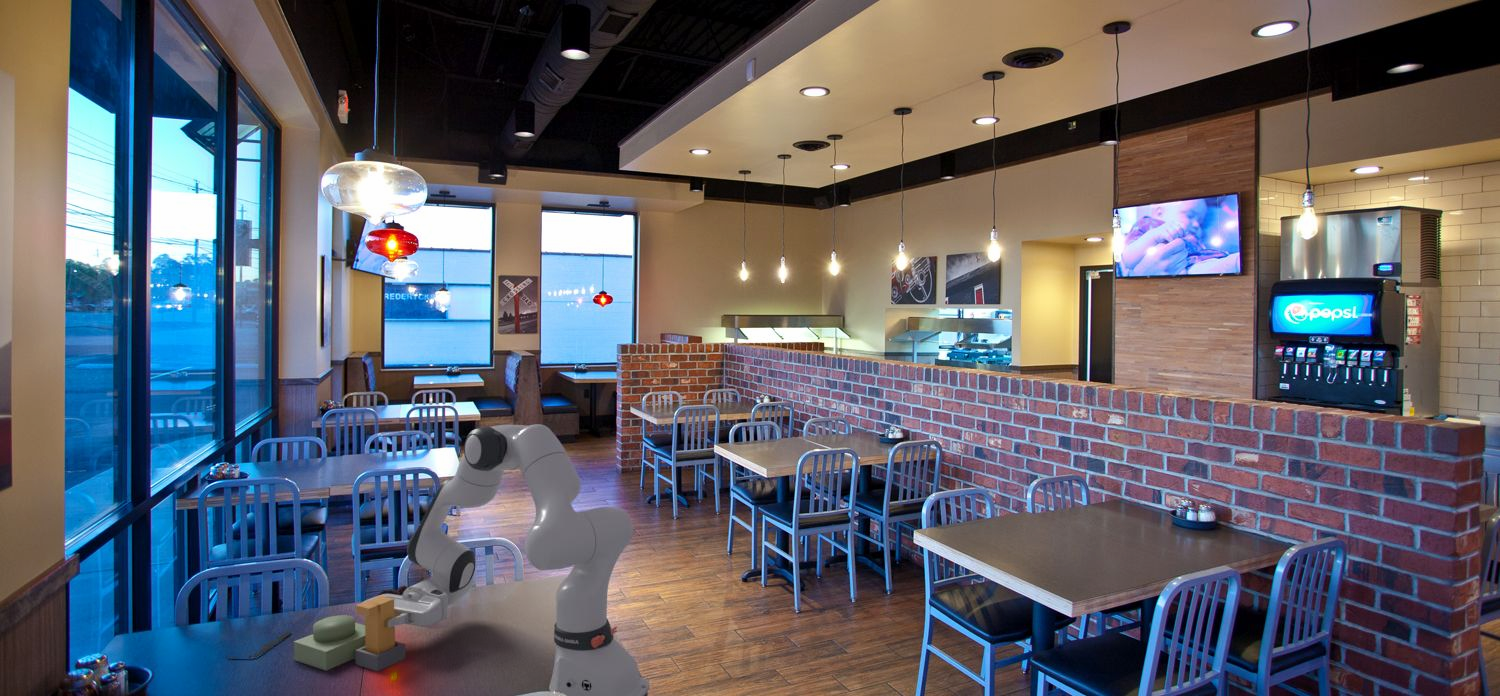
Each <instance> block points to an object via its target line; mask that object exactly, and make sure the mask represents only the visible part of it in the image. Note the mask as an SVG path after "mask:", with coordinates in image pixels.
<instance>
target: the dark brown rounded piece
mask: <svg viewBox="0 0 1500 696" xmlns="http://www.w3.org/2000/svg"><path fill="white" fill-rule="evenodd" d="M407 588H408V587H407V585H401V586H399V587H398V588H397V589H396V590H395V589H392V588H390V589H386V590H385V589H384V590H382V591H381V592H379V593H377V594H376V595H375V597H376V596H379V595H382V594H394V595H400V596H402V595H403V593H404V591H405V590H406V589H407Z"/></svg>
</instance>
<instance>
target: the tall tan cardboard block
mask: <svg viewBox="0 0 1500 696" xmlns="http://www.w3.org/2000/svg"><path fill="white" fill-rule="evenodd" d="M375 597H376V596H375ZM367 600H368V599H367ZM355 613H356V615H360V616H363V617H364V616H365V623H364V625H365V646H366V651H368V652H371V653H374V654H377V655H378V654H380V653H383V652H385V651H387V650H389V649H392V648H394V647H395V641H396V636H395V635H396V629H395V627H396V625H395V626H393V627H391V628H389V627H385V620H386V619H388V618H390V617H392V618H394V599H392V598H389V597H385V596H379V597H376V598H374V599H371V600H368V601H366V602H364V601H362V602H361V603H358V604H356V605H355Z"/></svg>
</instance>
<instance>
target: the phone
mask: <svg viewBox="0 0 1500 696" xmlns="http://www.w3.org/2000/svg"><path fill="white" fill-rule="evenodd" d="M285 632H286V633H287V634H286V633H285V634H283V635H281V636H280V637H278V638H279V639H277V640H278V641H277V640H276V641H277V642H275V641H272V642H269V643H268V644H266V645H264V646H263V647H265V646H266V647H265V648H263V647H262V648H263V649H261V648H260V649H261V650H260V651H261V652H260V653H257V652H255V653H257V654H258V655H257V654H254V657H257V656H259V655H260V654H262V653H264V652H265V651H267V650H268V649H270V648H271V647H272V646H274V645H275V644H276V643H278V642H280V641H281V640H283V639H284V638H286V637H287V636H289V635H290V634H291V635H292V631H285ZM291 635H290V636H291ZM290 636H289V637H290ZM287 638H288V637H287ZM287 638H286V639H287ZM283 641H284V640H283ZM273 642H275V643H273ZM271 643H272V644H271ZM280 643H281V642H280ZM258 652H259V651H258ZM250 654H251V653H250ZM245 656H247V655H245ZM228 657H229V655H227V658H228ZM230 657H233V656H230ZM235 657H236V656H235ZM239 657H240V656H239ZM251 657H253V656H250V655H249V658H251Z"/></svg>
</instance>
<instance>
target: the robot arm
mask: <svg viewBox="0 0 1500 696" xmlns="http://www.w3.org/2000/svg"><path fill="white" fill-rule="evenodd" d="M458 463H459V464H458V467H457V470H456V473H455V475H454V476H453V477H451V478H448V479H445V480H444V481H443V482H442V483H441V485H440V486H439V487H438V489H437V490H436V492H435V494H434V495H433V497H432V500H431V501H430V503H429V505H428V506H427V510H426V512H425V513H424V515H423V516H422V520H420V522H419V525H418V527H417V529H416V530H415V531H414V533H413V534H412V535H411V537H410V538H409V540H408V542H407V546H406V547H407V548H406V551H407V559H408V560H409V561H410V562H412V563H413V564H416V565H418V566H420V567H422V568H423V569H426V570H427V571H428V572H430V573H431V574H432V576H431V577H430V578H429V579H424V580H422V581H419V582H418V583H415V584H413V585H411V586H408V587H407V589H406V590H405V591H404V593H403V594H402V596H400V595H394V594H382V595H379V596H385V597H389V598H392V599H394V618H392V617H390V618H388V619H386V620H385V627H389V628H391V627H393V626H395V627H396V626H400V625H410V626H416V627H421V628H424V627H430V626H432V625H434V624H436V623H438V622H440V621H444V620H446V619H448V612H449V611H448V608H449V607H450V606H451V605H453V604H455V603H456V602H458V601H460V600H461V599H462V598H464V597H465V596H466V595H467V594H468V593H469V592H470V590H471V589H472V586H473V583H474V578H473V576H474V575H475V571H476V564H477V563H476V561H477V559H476V555H475V552H474V551H473V550H472V549H470V548H469V547H467V546H466V545H464V544H462V543H461V542H460V541H457V540H455V539H454V538H452V537H451V536H449V535H447V534H446V533H445V532H444V530H443V527H442V526H443V524H444V522H445V520H446V519H447V516H448V514H449V513H450V511H451V508H452V507H459V508H463V509H472V508H474V509H475V508H479V507H483V506H485V505H486V504H489V503H490V502H491V501H493V499H494V498H495V496H496V495H497V494H498V491H499V488H500V486H501V482H502V479H503V475H504V471H517V470H520V473H521V474H522V477H523V478H524V481H525V484H526V485H527V487H528V490H529V492H530V495H531V498H532V500H533V502H534V505H535V519H534V522H533V524H532V526H531V527H530V528H529V530H528V532H527V534H526V536H525V540H524V541H525V542H524V552H525V555H526V558H527V560H528V562H529V563H530V564H531V565H532V566H533V567H534V568H535V569H537V570H539V571H551V570H552V571H553V570H561V569H566V568H569V567H572V566H573V568H572V569H571V571H570V572H569V574H568V575H567V576H566V577H565V578H564V579H563V580H562V581H561V583H560V584H559V586H558V587H557V589H556V593H555V602H556V603H555V620H556V621H555V623H554V627H553V628H554V631H553V640H554V643H555V650H554V651H555V652H554V653H555V654H554V662H553V663H554V664H553V670H552V674H551V675H552V676H551V679H550V682H549V686H548V690H549V692H550V691H555V692H560V693H564V694H566V695H567V696H645V695H646V694H647V693H648V691H649V690H650V681H649V680H648V679H646V678H643V677H641V676H640V673H639V665H638V664H637V661H636V659H635V658H634V656H632V655H631V654H630V653H629V651H627V650H626V649H625V648H623V646H622V645H621V644H620V643H619V642H618V641H617V640H616V639H615V637H614V636H615V635H614V634H616V632H618V630H617V628H618V626H615V627H613V628H612V626H611V624H610V621H609V619H608V617H607V616H608V609H607V608H608V591H609V584H610V581H611V577H612V574H613V571H614V568H615V566H616V565H617V564H616V563H617V561H618V560H619V557H620V556H621V554H622V553H623V552H624V550H625V549H626V548H627V547H628V546H629V545H630V544H631V542H632V539H633V535H634V524H633V520H632V518H631V516H630V515H629V513H628V512H627V511H626V510H625V509H624V508H622V507H617V506H600V507H596V508H591V509H587V510H582V511H576V510H574V507H573V506H572V503H573V501H574V500H575V499H577V497H578V495H579V493H580V492H581V487H582V482H581V478H580V476H579V474H578V472H577V471H576V468H575V466H574V465H573V462H572V460H571V459H570V456H569V455H568V453H567V451H566V449H565V448H564V446H563V445H562V442H561V441H560V440H559V439H558V437H557V436H556V435H555V434H554V432H553V431H552V429H550V427H548V426H547V425H545V424H541V423H538V424H537V423H535V424H530V425H523V424H498V425H493V426H488V425H485V426H481V427H478V428H475V429H473V430H471V431H470V432H469V433H468V435H467V436H466V439H465V441H464V445H463V454H462V456H461V458H460V461H459V462H458ZM379 596H376V595H375V596H374V597H370V598H368V599H366V600H364V601H363V602H366V601H368V600H371V599H374V598H376V597H379ZM363 621H364V624H365V616H363ZM640 677H641V678H640ZM643 681H644V682H645V683H644V682H643ZM645 685H646V686H645Z"/></svg>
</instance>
